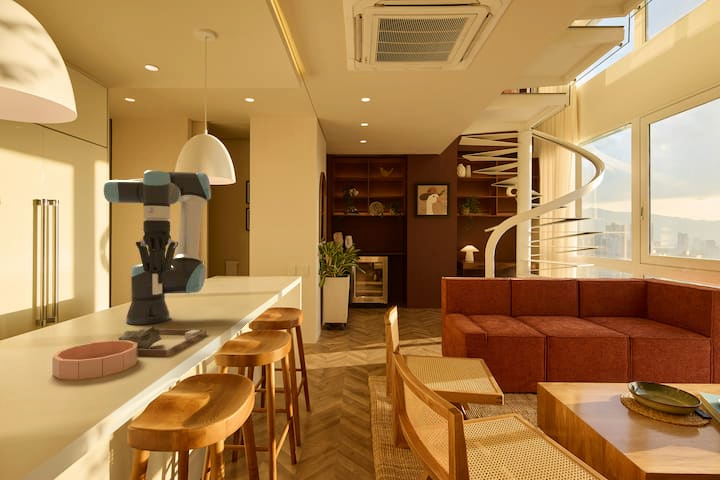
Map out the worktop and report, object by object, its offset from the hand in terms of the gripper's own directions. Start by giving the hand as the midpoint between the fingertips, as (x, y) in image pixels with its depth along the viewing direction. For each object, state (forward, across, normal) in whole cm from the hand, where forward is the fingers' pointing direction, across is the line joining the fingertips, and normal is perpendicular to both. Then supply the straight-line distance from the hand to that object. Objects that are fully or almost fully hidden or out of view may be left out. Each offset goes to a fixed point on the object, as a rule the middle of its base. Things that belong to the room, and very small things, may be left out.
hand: (157, 293), depth 119 cm
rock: (+15, -4, -3) cm, 16 cm away
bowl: (+16, -3, -22) cm, 27 cm away
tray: (+16, 0, -1) cm, 16 cm away
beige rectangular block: (+16, +8, +8) cm, 20 cm away
